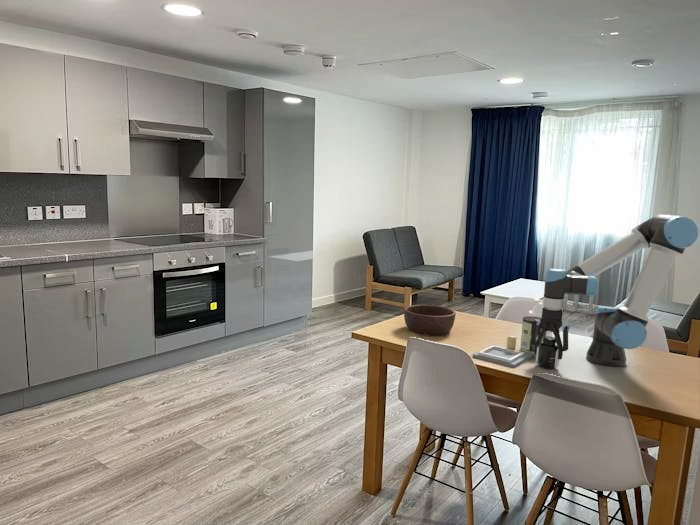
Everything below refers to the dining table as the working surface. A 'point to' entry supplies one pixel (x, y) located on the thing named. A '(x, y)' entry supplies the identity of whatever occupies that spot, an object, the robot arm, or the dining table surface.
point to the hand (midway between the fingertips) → (547, 364)
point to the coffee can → (529, 334)
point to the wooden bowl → (429, 319)
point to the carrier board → (504, 354)
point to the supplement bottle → (547, 353)
